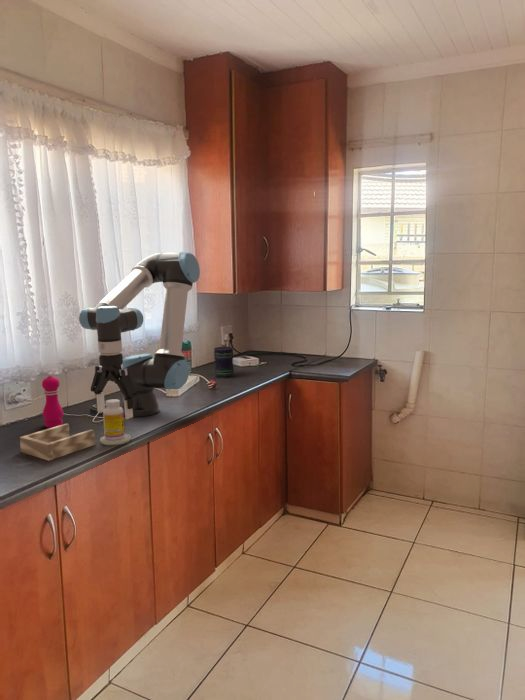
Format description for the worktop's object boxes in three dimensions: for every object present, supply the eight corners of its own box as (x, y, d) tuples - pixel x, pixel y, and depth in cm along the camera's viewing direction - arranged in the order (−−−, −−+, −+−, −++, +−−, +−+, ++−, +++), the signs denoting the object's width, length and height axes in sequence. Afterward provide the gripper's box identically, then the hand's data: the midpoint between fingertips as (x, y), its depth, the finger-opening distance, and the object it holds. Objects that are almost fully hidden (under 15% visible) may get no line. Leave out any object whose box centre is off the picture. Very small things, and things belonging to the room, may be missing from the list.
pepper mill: (66, 422, 210) (63, 370, 207) (60, 428, 203) (56, 374, 200) (47, 422, 210) (43, 371, 207) (40, 428, 203) (36, 375, 199)
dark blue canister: (226, 379, 281) (225, 350, 279) (210, 377, 286) (210, 349, 284) (237, 375, 290) (236, 347, 287) (222, 374, 295) (221, 346, 292)
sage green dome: (116, 434, 195) (116, 431, 195) (137, 439, 189) (136, 436, 189) (94, 442, 187) (93, 439, 186) (114, 447, 181) (114, 444, 181)
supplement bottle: (126, 439, 186) (124, 402, 184) (105, 441, 183) (103, 404, 181) (123, 433, 192) (121, 397, 190) (103, 436, 190) (101, 399, 188)
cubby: (67, 437, 192) (66, 423, 191) (94, 444, 184) (93, 430, 183) (20, 452, 178) (19, 437, 177) (49, 460, 170) (47, 445, 169)
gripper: (76, 351, 187) (81, 412, 191) (128, 358, 173) (132, 423, 177) (94, 348, 193) (99, 407, 197) (145, 354, 179) (149, 417, 183)
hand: (115, 415), depth 187 cm, fingers open, 13 cm apart
